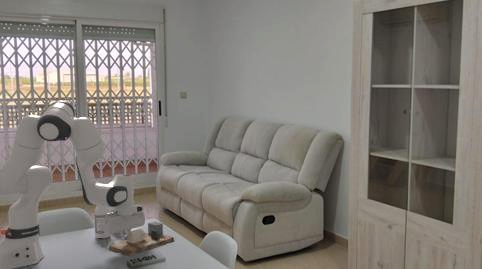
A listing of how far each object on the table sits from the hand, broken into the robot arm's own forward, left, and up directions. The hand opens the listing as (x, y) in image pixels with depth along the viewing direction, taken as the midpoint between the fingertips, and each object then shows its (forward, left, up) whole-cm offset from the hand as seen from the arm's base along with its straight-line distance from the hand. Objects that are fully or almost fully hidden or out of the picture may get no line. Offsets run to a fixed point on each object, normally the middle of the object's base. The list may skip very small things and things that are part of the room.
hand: (125, 239), depth 208 cm
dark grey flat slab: (+13, -6, -2) cm, 14 cm away
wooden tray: (+7, -3, -4) cm, 9 cm away
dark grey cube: (+18, 0, -2) cm, 18 cm away
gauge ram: (+6, -1, -2) cm, 7 cm away
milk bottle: (+15, +27, -4) cm, 31 cm away
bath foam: (+3, +22, -4) cm, 22 cm away
